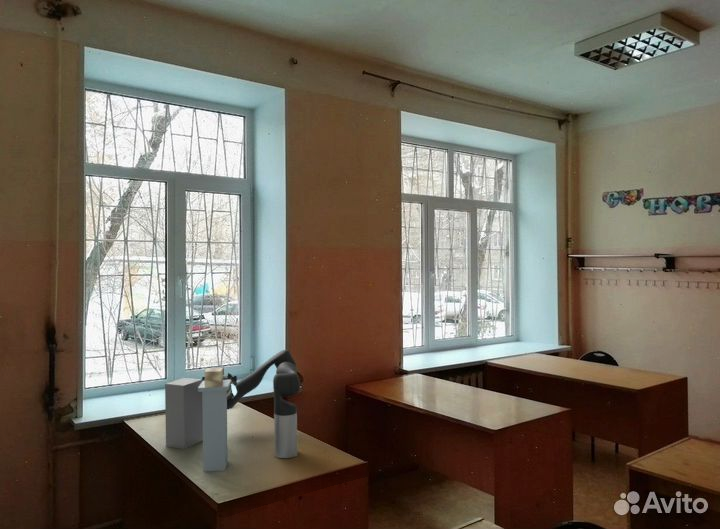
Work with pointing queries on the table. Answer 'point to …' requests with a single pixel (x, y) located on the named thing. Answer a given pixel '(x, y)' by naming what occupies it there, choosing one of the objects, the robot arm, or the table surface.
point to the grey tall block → (183, 413)
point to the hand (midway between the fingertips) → (217, 375)
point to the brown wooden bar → (214, 377)
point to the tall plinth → (214, 426)
